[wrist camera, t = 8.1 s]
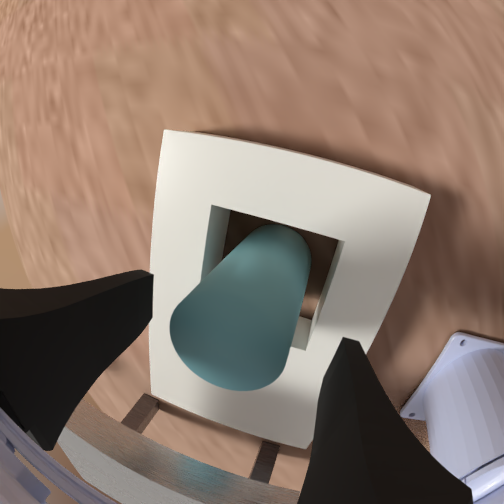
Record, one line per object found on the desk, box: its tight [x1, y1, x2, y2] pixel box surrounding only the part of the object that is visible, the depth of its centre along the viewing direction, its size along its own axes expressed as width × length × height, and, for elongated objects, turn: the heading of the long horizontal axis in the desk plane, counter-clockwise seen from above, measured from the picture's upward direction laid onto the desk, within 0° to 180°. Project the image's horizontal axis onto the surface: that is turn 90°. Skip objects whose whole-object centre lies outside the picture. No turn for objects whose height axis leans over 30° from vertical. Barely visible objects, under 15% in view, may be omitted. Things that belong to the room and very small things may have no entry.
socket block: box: [149, 130, 431, 449], centre depth 16 cm, size 12×18×3 cm, turn 168°
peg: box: [169, 224, 312, 391], centre depth 13 cm, size 4×4×8 cm
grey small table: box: [57, 394, 300, 504], centre depth 17 cm, size 14×12×11 cm
